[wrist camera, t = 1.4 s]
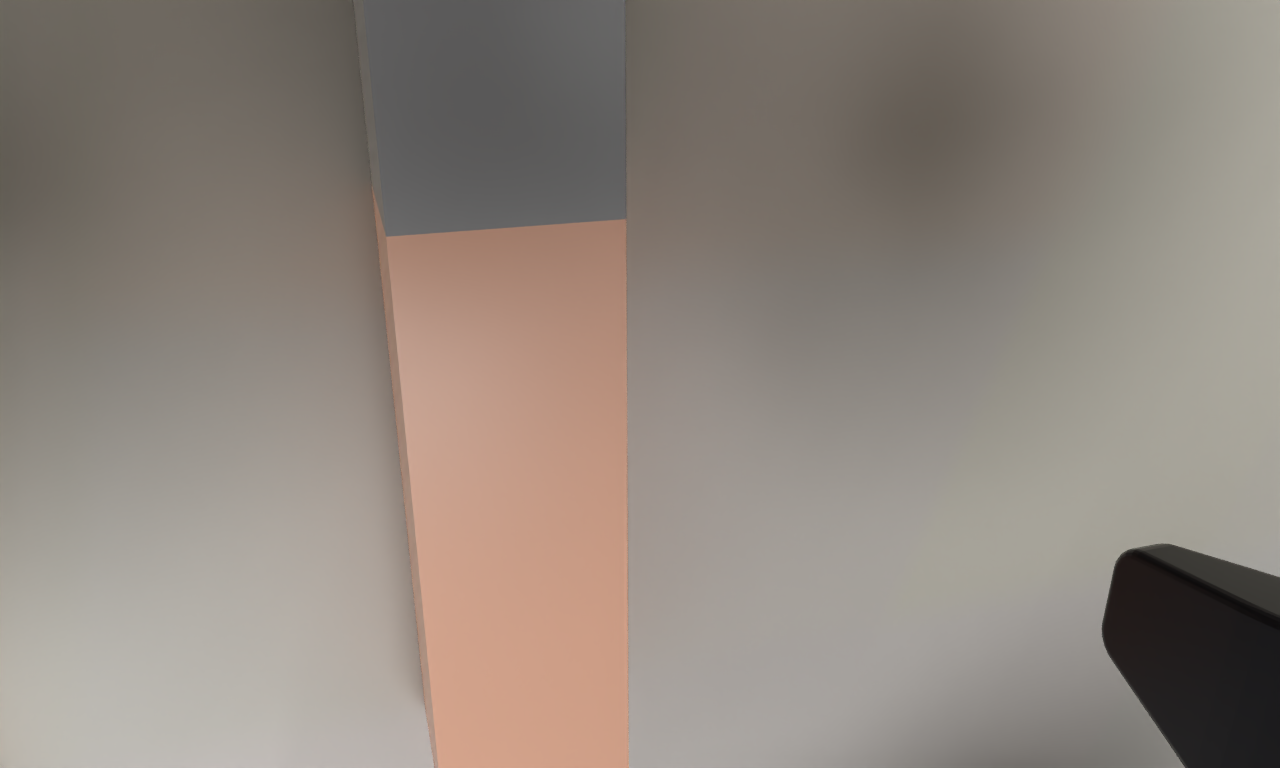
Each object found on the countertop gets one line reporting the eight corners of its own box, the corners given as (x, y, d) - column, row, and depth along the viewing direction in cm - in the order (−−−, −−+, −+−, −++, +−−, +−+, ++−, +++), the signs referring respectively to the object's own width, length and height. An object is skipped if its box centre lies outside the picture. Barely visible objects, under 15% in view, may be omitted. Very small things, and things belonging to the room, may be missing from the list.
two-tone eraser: (585, 676, 16) (629, 791, 14) (425, 707, 16) (444, 833, 14) (565, -87, 12) (625, -91, 10) (343, -88, 11) (353, -94, 9)
